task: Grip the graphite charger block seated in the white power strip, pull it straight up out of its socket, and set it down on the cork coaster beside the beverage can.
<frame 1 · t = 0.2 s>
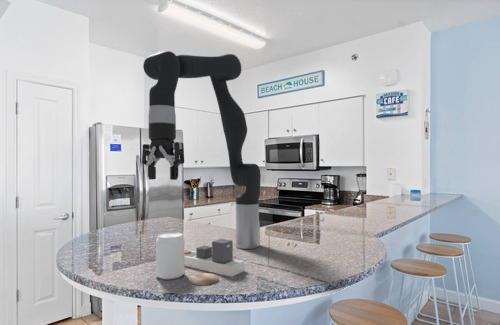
hand: (162, 179, 91), 28 cm above the counter, fingers open, 8 cm apart
coaster: (204, 280, 90), on the counter
power strip: (209, 267, 101), on the counter
charger: (222, 263, 98), point 2 cm above the counter, touching power strip
beverage can: (170, 276, 93), on the counter
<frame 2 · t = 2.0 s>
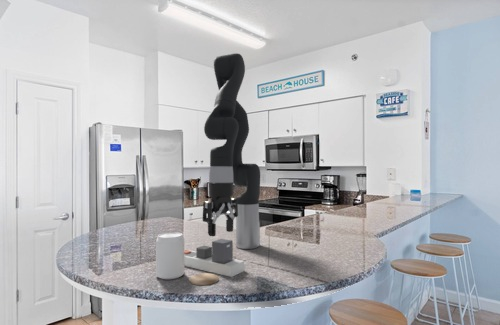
hand: (221, 233, 98), 11 cm above the counter, fingers open, 8 cm apart
nothing on the counter moved.
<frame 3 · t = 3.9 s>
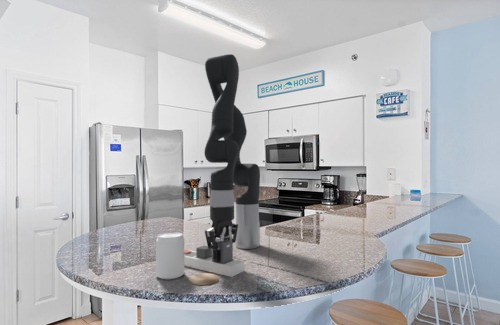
hand: (222, 259, 98), 3 cm above the counter, fingers closed on charger, 4 cm apart
charger: (222, 263, 98), point 2 cm above the counter, touching gripper, power strip
everything else where it was.
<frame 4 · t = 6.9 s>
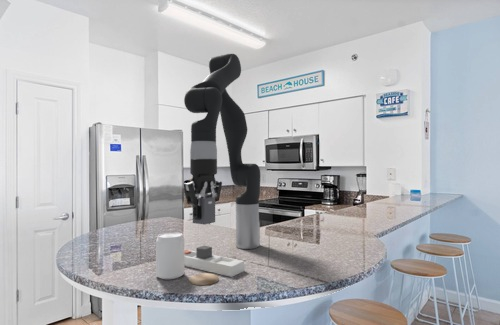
hand: (203, 217, 90), 18 cm above the counter, fingers closed on charger, 4 cm apart
charger: (204, 222, 90), point 16 cm above the counter, touching gripper
everything else where it was.
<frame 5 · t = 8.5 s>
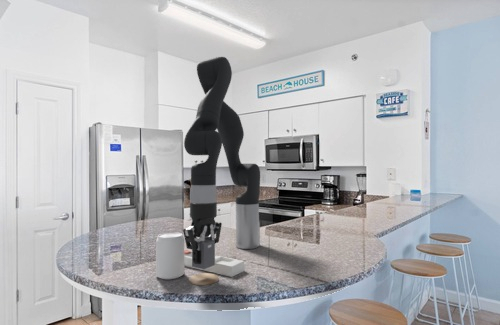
hand: (203, 261, 90), 5 cm above the counter, fingers closed on charger, 4 cm apart
charger: (203, 265, 90), point 4 cm above the counter, touching gripper
everything else where it was.
when the fingers open (2 cm above the counter, at t = 9.9 s): charger stays where it is, resting on coaster.
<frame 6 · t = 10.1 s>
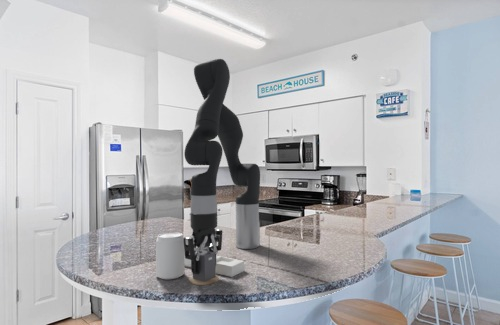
hand: (204, 269, 90), 3 cm above the counter, fingers open, 6 cm apart
charger: (204, 277, 90), point 1 cm above the counter, touching coaster
everything else where it was.
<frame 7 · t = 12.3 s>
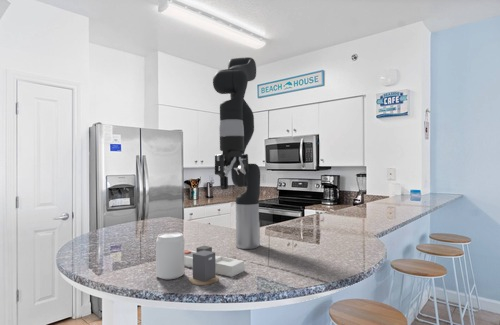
hand: (233, 187, 98), 25 cm above the counter, fingers open, 8 cm apart
nothing on the counter moved.
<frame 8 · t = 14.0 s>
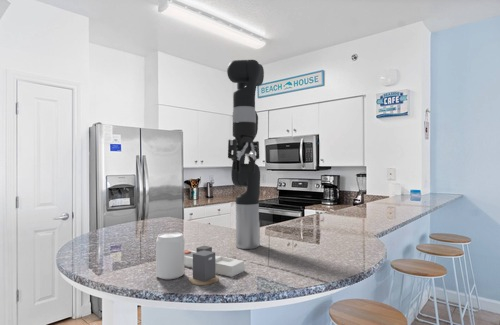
hand: (244, 172, 102), 30 cm above the counter, fingers open, 8 cm apart
nothing on the counter moved.
at the end: charger inside the target area on the coaster (0.0 cm from its centre), point 0.6 cm above the coaster's base; charger tilted 0°; the gripper is holding nothing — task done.
